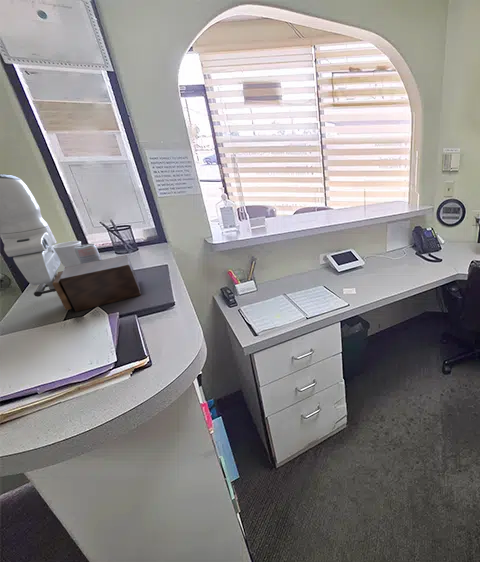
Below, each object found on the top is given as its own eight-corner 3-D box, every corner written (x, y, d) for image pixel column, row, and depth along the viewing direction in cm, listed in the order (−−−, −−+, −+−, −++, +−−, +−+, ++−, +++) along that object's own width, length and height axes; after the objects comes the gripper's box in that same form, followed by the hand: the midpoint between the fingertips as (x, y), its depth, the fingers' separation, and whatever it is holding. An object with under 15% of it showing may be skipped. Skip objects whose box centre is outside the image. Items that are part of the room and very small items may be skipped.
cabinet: (75, 311, 83) (59, 279, 79) (79, 296, 92) (65, 266, 88) (141, 295, 91) (129, 264, 87) (138, 282, 100) (127, 254, 96)
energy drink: (105, 275, 108) (91, 242, 103) (112, 278, 105) (97, 244, 100) (86, 281, 104) (70, 247, 99) (93, 284, 101) (77, 249, 96)
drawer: (42, 316, 79) (27, 288, 76) (49, 301, 88) (36, 276, 85) (128, 294, 89) (117, 269, 86) (127, 283, 98) (117, 260, 95)
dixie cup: (65, 269, 117) (53, 243, 113) (93, 264, 121) (82, 239, 117) (60, 275, 111) (47, 248, 107) (90, 269, 115) (78, 244, 111)
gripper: (21, 236, 84) (46, 282, 90) (1, 251, 69) (33, 306, 75) (53, 231, 87) (75, 276, 93) (40, 245, 72) (68, 297, 78)
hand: (56, 289), depth 84 cm, fingers closed, pressing on drawer
